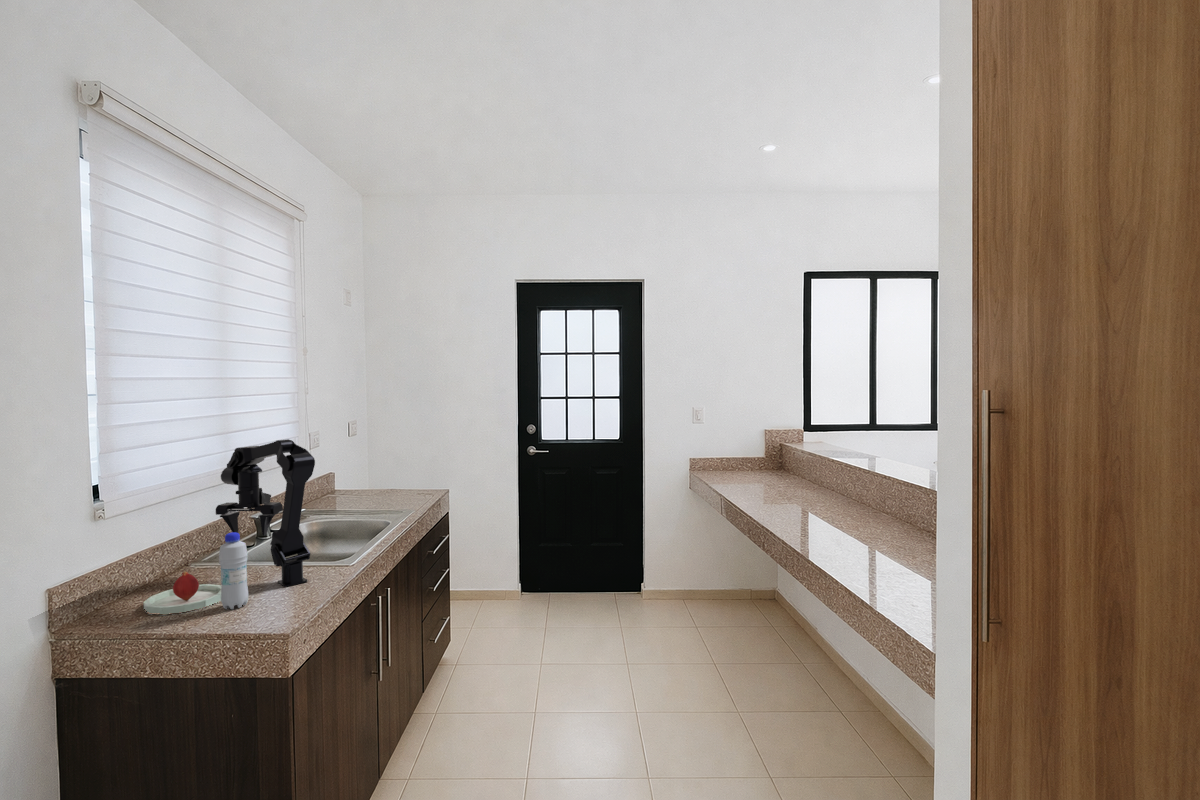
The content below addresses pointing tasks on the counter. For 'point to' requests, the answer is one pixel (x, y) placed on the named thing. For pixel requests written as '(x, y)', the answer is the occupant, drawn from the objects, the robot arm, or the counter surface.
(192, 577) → the onion
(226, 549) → the bottle
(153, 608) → the plate
